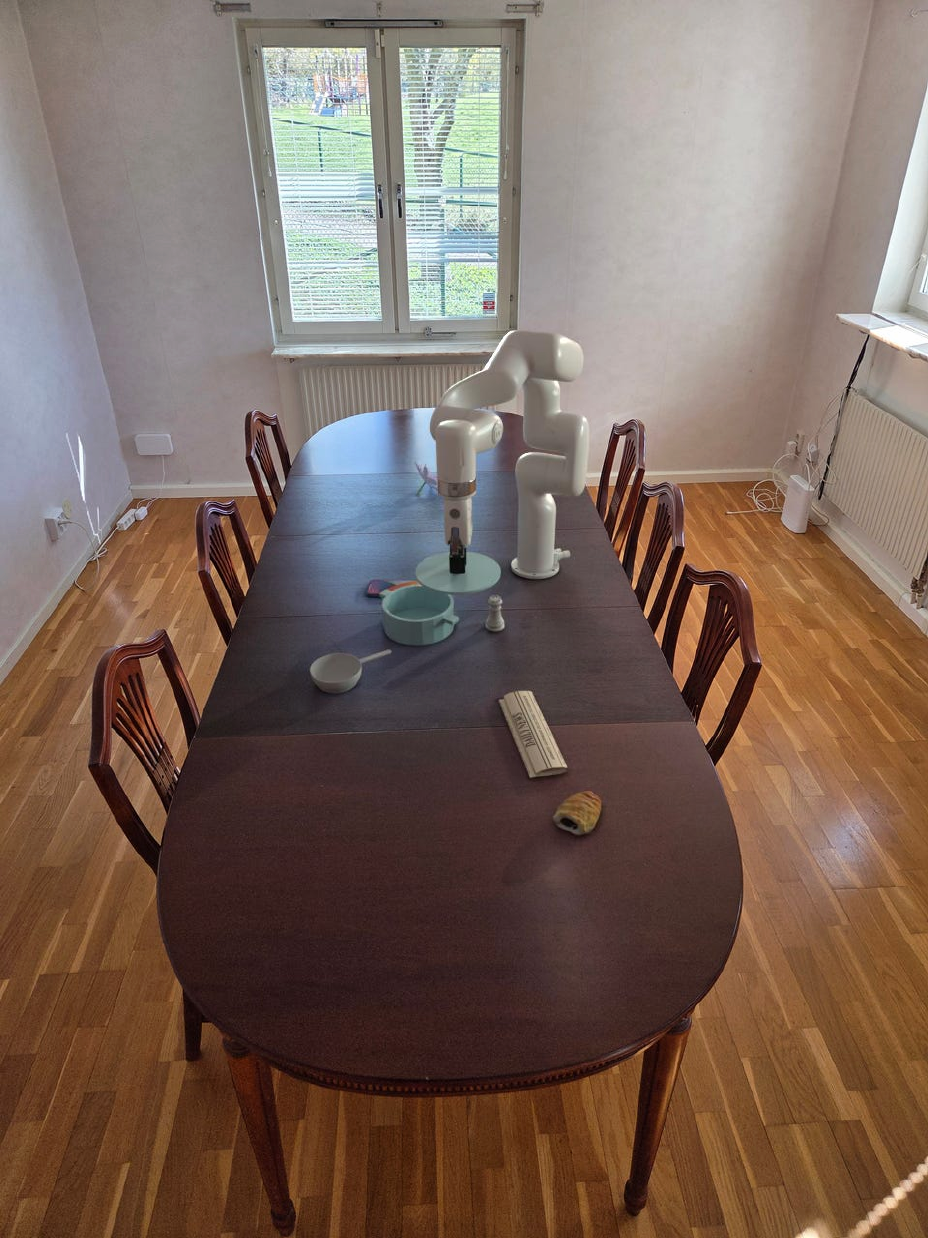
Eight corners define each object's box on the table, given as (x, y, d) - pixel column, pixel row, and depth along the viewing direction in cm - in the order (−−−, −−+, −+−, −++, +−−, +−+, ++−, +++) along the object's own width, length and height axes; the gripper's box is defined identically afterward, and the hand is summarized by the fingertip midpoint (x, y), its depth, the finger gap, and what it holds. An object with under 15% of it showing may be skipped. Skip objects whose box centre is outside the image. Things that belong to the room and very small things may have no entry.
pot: (406, 597, 204) (404, 575, 200) (477, 625, 193) (477, 601, 189) (360, 626, 193) (358, 603, 189) (433, 657, 181) (432, 633, 178)
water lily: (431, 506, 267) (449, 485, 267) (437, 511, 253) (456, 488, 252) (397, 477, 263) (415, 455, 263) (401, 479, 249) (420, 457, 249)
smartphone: (371, 582, 211) (371, 579, 210) (429, 583, 209) (428, 579, 209) (365, 597, 205) (365, 593, 204) (425, 598, 203) (425, 594, 203)
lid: (450, 548, 179) (449, 523, 176) (517, 571, 170) (517, 544, 167) (397, 580, 168) (396, 553, 164) (466, 606, 158) (466, 578, 155)
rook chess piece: (492, 620, 194) (492, 591, 190) (508, 626, 192) (508, 596, 188) (481, 628, 191) (481, 599, 187) (497, 634, 189) (498, 605, 185)
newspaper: (567, 772, 149) (568, 765, 148) (530, 778, 148) (530, 771, 147) (531, 696, 169) (531, 689, 168) (498, 700, 168) (498, 693, 167)
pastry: (576, 792, 145) (577, 776, 143) (610, 808, 142) (612, 792, 140) (549, 825, 138) (551, 809, 136) (585, 842, 135) (587, 826, 133)
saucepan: (305, 674, 176) (303, 660, 174) (382, 652, 183) (381, 638, 181) (321, 701, 168) (319, 686, 166) (401, 677, 175) (400, 662, 173)
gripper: (473, 502, 151) (473, 589, 161) (478, 469, 165) (478, 551, 175) (432, 501, 152) (436, 588, 161) (441, 469, 165) (443, 550, 175)
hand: (458, 568), depth 168 cm, fingers closed on lid, 2 cm apart
